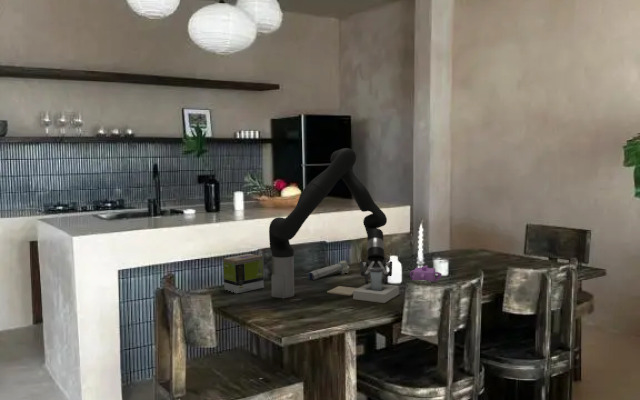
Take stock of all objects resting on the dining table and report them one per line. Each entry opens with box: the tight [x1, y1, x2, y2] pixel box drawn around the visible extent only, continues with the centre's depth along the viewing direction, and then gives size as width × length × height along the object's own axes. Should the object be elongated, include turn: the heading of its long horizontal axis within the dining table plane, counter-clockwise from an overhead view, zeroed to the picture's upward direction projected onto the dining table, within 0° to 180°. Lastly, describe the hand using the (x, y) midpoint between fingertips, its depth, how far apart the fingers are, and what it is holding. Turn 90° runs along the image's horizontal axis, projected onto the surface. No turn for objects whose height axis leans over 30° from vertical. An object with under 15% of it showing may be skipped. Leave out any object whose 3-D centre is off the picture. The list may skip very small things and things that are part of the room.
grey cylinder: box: [307, 260, 350, 281], centre depth 295 cm, size 5×7×25 cm
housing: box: [352, 282, 400, 304], centre depth 254 cm, size 16×14×4 cm
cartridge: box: [370, 267, 383, 291], centre depth 254 cm, size 6×6×12 cm
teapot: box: [409, 264, 443, 282], centre depth 266 cm, size 18×14×10 cm
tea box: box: [222, 253, 265, 294], centre depth 269 cm, size 15×10×15 cm, turn 131°
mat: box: [326, 285, 359, 297], centre depth 264 cm, size 11×11×1 cm
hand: (376, 283), depth 252 cm, fingers open, 7 cm apart
